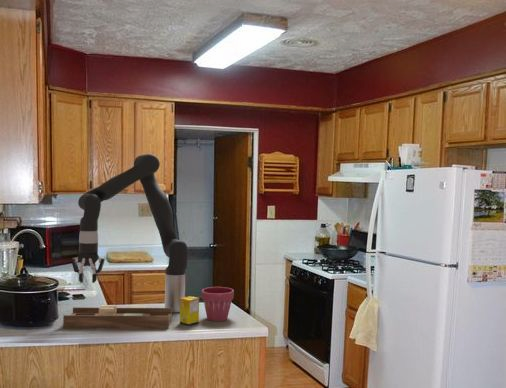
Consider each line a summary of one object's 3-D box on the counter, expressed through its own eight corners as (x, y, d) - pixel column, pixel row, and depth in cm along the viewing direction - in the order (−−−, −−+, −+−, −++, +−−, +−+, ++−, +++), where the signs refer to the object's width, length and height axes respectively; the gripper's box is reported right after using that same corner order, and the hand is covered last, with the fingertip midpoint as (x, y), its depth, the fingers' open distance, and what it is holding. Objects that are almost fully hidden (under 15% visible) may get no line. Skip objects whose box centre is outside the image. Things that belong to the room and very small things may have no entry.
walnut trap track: (73, 318, 211) (73, 307, 211) (171, 319, 214) (171, 308, 214) (63, 328, 197) (63, 315, 197) (168, 328, 200) (168, 316, 200)
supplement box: (189, 320, 213) (189, 295, 213) (199, 323, 209) (199, 297, 209) (179, 323, 208) (179, 297, 208) (188, 326, 205) (189, 300, 204)
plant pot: (206, 324, 208) (206, 294, 208) (197, 315, 221) (198, 287, 221) (237, 321, 214) (238, 292, 214) (227, 313, 227) (227, 286, 227)
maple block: (101, 314, 208) (102, 305, 208) (116, 314, 208) (116, 305, 208) (98, 318, 202) (98, 308, 202) (113, 318, 202) (113, 308, 202)
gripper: (107, 241, 208) (107, 281, 209) (73, 240, 207) (72, 280, 207) (103, 242, 201) (103, 284, 201) (68, 242, 200) (67, 284, 200)
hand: (87, 282), depth 204 cm, fingers open, 4 cm apart
